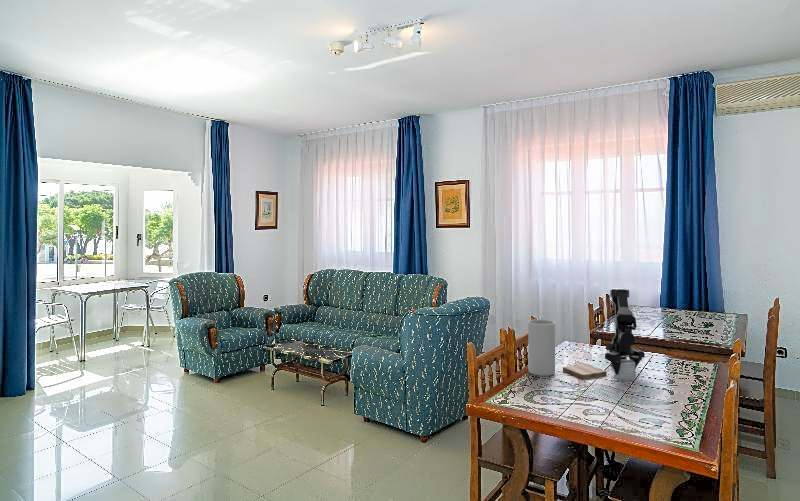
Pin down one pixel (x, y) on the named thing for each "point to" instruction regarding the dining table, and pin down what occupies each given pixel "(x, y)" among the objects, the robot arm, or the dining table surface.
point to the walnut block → (584, 371)
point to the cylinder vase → (541, 347)
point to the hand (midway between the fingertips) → (624, 373)
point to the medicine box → (626, 370)
